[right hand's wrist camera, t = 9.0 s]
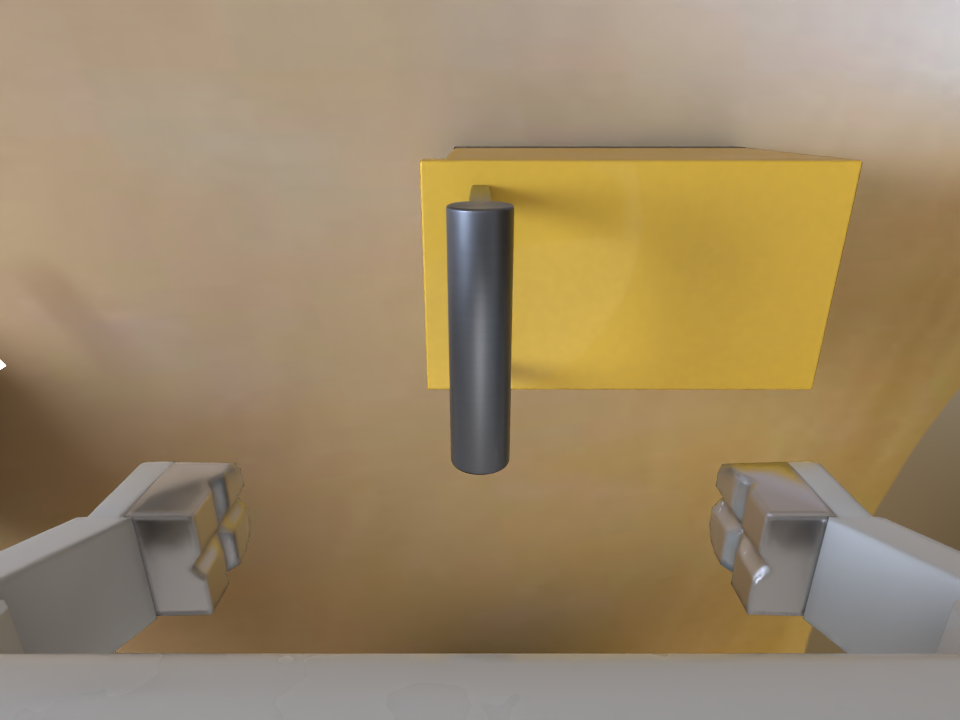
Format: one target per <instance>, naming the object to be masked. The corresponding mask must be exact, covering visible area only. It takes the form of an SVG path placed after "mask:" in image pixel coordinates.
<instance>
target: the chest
mask: <svg viewBox="0 0 960 720" xmlns="http://www.w3.org/2000/svg"><path fill="white" fill-rule="evenodd" d="M445 159H843V158H834V157H825V156H815V155H806V154H797V153H787V152H778V151H768V150H759V149H750V148H744V147H454V150H453V151H452V152H451V153H450V154H449V155H448V156H447V157H446V158H445Z"/></svg>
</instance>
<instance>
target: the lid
mask: <svg viewBox="0 0 960 720" xmlns="http://www.w3.org/2000/svg"><path fill="white" fill-rule="evenodd" d="M861 167H862V161H860V160H853V159H423V160H421V161H420V186H421V214H422V242H423V270H424V298H425V326H426V355H427V383H428V389H450V427H451V461H452V463H453V465H454V466H455V467H456V468H457V469H459V470H461V471H463V472H465V473H469V474H476V475H485V474H491V473H495V472H498V471H500V470H502V469H503V468H505V467H506V465H507V464H508V462H509V451H510V401H511V389H812V387H813V383H814V378H815V374H816V369H817V365H818V360H819V356H820V351H821V347H822V342H823V338H824V333H825V329H826V324H827V320H828V315H829V311H830V306H831V302H832V297H833V293H834V288H835V284H836V279H837V275H838V270H839V266H840V261H841V257H842V252H843V248H844V243H845V239H846V234H847V230H848V225H849V221H850V216H851V212H852V207H853V203H854V198H855V194H856V189H857V185H858V180H859V176H860V171H861Z"/></svg>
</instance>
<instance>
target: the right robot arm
mask: <svg viewBox="0 0 960 720" xmlns="http://www.w3.org/2000/svg"><path fill="white" fill-rule="evenodd" d="M5 366H6V365H5V364H4V363H3V362H2V361H1V360H0V369H2V368H3V367H5ZM243 487H244V482H243V477H242V472H241V468H240V467H239V466H238V465H237V464H236V463H212V462H174V461H167V462H146V463H141V464H140V465H139V466H138V467H137V468H136V469H135V470H134V471H133V472H132V473H131V474H130V475H129V476H128V477H127V478H126V479H125V480H124V481H123V482H122V483H121V484H120V485H119V486H118V487H117V488H116V489H115V490H114V491H113V492H112V493H111V494H110V495H109V496H108V497H107V498H106V499H105V500H104V501H103V502H102V503H101V504H100V505H99V506H98V507H97V508H96V509H95V510H94V511H93V512H92V513H91V514H90V515H89V516H88V517H76V518H74V519H72V520H70V521H67V522H65V523H63V524H61V525H58V526H56V527H54V528H51V529H49V530H47V531H45V532H42V533H40V534H38V535H36V536H33V537H31V538H29V539H27V540H24V541H22V542H20V543H18V544H15V545H13V546H11V547H8V548H6V549H4V550H2V551H0V720H960V551H958V550H956V549H954V548H951V547H949V546H947V545H945V544H942V543H940V542H938V541H936V540H933V539H931V538H929V537H926V536H924V535H922V534H920V533H917V532H915V531H913V530H911V529H908V528H906V527H904V526H902V525H899V524H897V523H895V522H893V521H890V520H888V519H886V518H884V517H872V516H871V515H870V514H869V513H868V512H867V511H866V510H865V509H864V508H863V507H862V506H861V505H860V504H859V503H858V502H857V501H856V500H855V499H854V498H853V497H852V496H851V495H850V494H849V493H848V492H847V491H846V490H845V489H844V488H843V487H842V486H841V485H840V484H839V483H838V482H837V481H836V480H835V479H834V478H833V477H832V476H831V475H830V474H829V473H828V472H827V471H826V470H825V469H824V468H823V467H822V466H821V465H820V464H818V463H816V462H813V461H803V462H773V463H733V464H722V465H721V468H720V470H719V472H718V476H717V481H716V487H717V489H718V490H719V492H720V493H721V495H722V496H723V497H722V498H721V499H720V500H719V501H718V502H717V503H716V504H715V505H714V506H713V507H712V511H711V519H710V534H711V543H712V546H713V549H714V553H715V555H716V557H717V559H718V561H719V562H720V564H721V565H723V566H724V567H726V568H727V569H729V570H730V571H732V572H733V575H732V580H731V585H732V587H733V588H734V590H735V592H736V594H737V596H738V597H739V599H740V601H741V603H742V605H743V606H744V608H745V610H746V612H747V614H750V615H787V616H803V619H804V620H806V621H807V622H808V623H810V624H811V625H812V626H813V627H815V628H816V629H817V630H819V631H820V632H821V633H822V634H824V635H825V636H826V637H827V638H829V639H830V640H831V641H833V642H834V643H835V644H836V645H838V646H839V647H840V648H842V649H843V650H844V651H845V652H847V653H845V654H844V653H824V654H823V653H686V654H685V653H684V654H262V653H114V652H115V651H116V650H117V649H119V648H120V647H121V646H123V645H124V644H125V643H126V642H128V641H129V640H130V639H131V638H133V637H134V636H135V635H137V634H138V633H139V632H140V631H142V630H143V629H144V628H146V627H147V626H148V625H149V624H151V623H152V622H153V621H155V620H156V619H157V617H156V616H172V615H208V614H213V612H214V610H215V608H216V607H217V605H218V603H219V601H220V599H221V597H222V596H223V594H224V592H225V590H226V588H227V587H228V585H229V580H228V574H227V572H228V571H230V570H231V569H233V568H234V567H236V566H237V565H239V564H240V562H241V561H242V559H243V557H244V555H245V553H246V550H247V545H248V541H249V537H250V517H249V511H248V507H247V506H246V505H245V504H244V503H243V502H242V501H241V500H240V499H239V498H238V497H237V496H238V495H239V493H240V492H241V490H242V489H243Z"/></svg>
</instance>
